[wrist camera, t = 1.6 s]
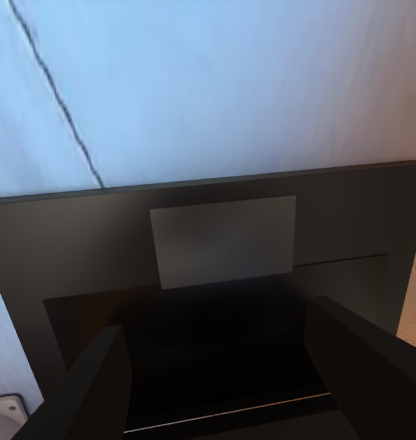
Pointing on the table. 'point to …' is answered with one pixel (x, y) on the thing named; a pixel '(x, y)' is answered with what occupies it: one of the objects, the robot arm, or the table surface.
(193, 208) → the laptop
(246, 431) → the laptop screen
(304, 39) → the table surface
